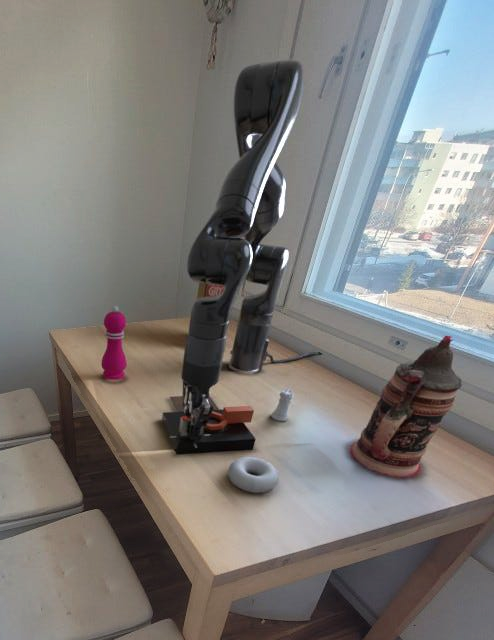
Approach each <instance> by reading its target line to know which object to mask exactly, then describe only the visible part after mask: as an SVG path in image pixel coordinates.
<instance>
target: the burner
mask: <svg viewBox="0 0 494 640" xmlns="http://www.w3.org/2000/svg"><path fill="white" fill-rule="evenodd" d="M220 422H221V421H220V420H219V419H217V418H214V417H210V418H209V421H208V423H209V424H219V423H220ZM229 426H230V424H227V425H226V426H225V427H224V428H222V429H220V430H210V429H209V430H208V429H205V428H204V431H205V432H212V433H217V432H223V431H225V430H227V429H228V428H229Z"/></svg>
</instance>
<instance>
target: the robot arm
mask: <svg viewBox="0 0 494 640" xmlns="http://www.w3.org/2000/svg"><path fill="white" fill-rule="evenodd" d="M304 73H305V72H304V67H303V64H302V63H301V62H300V60H296V59H281V60H275V61H266V62H257V63H252V64H249V65H246V66H244V67H243V68H242V69H241V70H240V72H239V73H238V76H237V78H236V81H235V85H234V90H233V100H232V107H233V108H232V111H233V112H232V113H233V125H234V134H235V141H236V146H237V147H236V148H237V153H238V160H237V161H236V162H235V163H234V164H233V166H231V168H230V169H229V171H228V172H227V174H226V176H225V177H224V179H223V181H222V183H221V186H220V189H219V192H218V195H217V199H216V202H215V205H214V209H213V211H212V213H211V214H210V216H209V218H208V219H207V221H206V223H205V224H204V226H203V227H202V228H201V230H200V231H199V232H198V234H197V236H196V237H195V239H194V240H193V242H192V244H191V247H190V249H189V251H188V254H187V259H186V270H187V274H188V276H189V278H190V279H191V280H192V281H193V282H195V283H198V284H199V283H206V284H214V285H222V286H224V290H223V292H222V293H221V294H220V295H217V296H210V297H202V298H199V299H197V298H196V299H195V300H194V302H193V304H192V306H191V312H190V319H189V326H188V327H189V328H188V333H187V337H186V340H185V346H184V353H183V361H182V367H181V376H180V378H181V380H182V394H181V396H182V406H183V407H185V408H184V413H186V414H185V416H187V417H189V416H191V424H190V430H189V436H188V437H189V439H190V440H196V439H198V438H199V435H200V430H201V426H206V425H207V423H208V421H209V418H210V416H211V413H212V411H213V405H212V404H211V405H209V404H208V400H209V396H210V397H211V395H210V394H211V393H210V389H211V388H212V387H213V386H216V385H217V384H219V381H220V377H221V371H222V366H223V361H224V355H225V350H226V339H227V333H228V328H229V324H230V318H231V314H232V310H233V307H234V304H235V301H236V299H237V296H238V294H239V292H240V290H241V287H242V285H243V284H244V281H246V282H248V283H252V284H256V285H257V284H258V285H264V286H267V287H266V289H265V290H264V291H262V292H260V293H256V294H251V295H248V296H245V297H244V298H243V299H242V301H241V308H240V311H239V316H238V320H237V326H236V330H235V335H234V338H233V339H234V340H233V345H232V350H230V359H229V363H228V368H229V369H230V370H232V371H233V372H252V373H253V374H256V373H258V372H262V371H263V366H264V362H266V360H267V357H268V358H269V361H270V362H271V363H273V364H280V363H281V364H282V363H288V362H292V361H297V360H300V359H302V358H305V357H309V356H312V355H314V354H316V353H317V354H319V355H323V354H322V353H320V352H316V353H315V350H313V351H310V352H307V353H304V354H301V355H298V356H295V357H290V358H285V359H280V360H277V359H274V356H273V355H272V354H270V353H269V352H268V346H269V343H270V339H269V338H268V335H269V332H270V327H271V324H272V320H273V316H274V313H275V310H276V309H275V308H276V305H277V302H278V298H279V293H280V290H281V287H282V283H283V280H284V277H285V274H286V271H287V267H288V263H289V259H290V251H289V249H288V247H285V246H279V245H271V244H263V243H262V242H263V241H262V240H263V239H264V238H265V237H267V236H268V234H269V233H270V232H271V231H273V229H274V228H275V227H276V226H277V225H278V224H279V222H280V220H281V218H282V217H283V214H284V211H285V206H286V192H287V191H286V190H287V182H286V181H287V180H286V177H285V175H284V172H283V170H282V169H281V166H280V165H279V164H278V162H277V161H278V159H279V156H280V155H281V152H282V150H283V148H284V146H285V144H286V142H287V140H288V137H289V135H290V133H291V131H292V128H293V126H294V124H295V122H296V118H297V116H298V114H299V110H300V106H301V102H302V97H303V90H304V79H305V77H304ZM197 408H198V409H197ZM196 414H197V415H196ZM195 416H196V417H195Z"/></svg>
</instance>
